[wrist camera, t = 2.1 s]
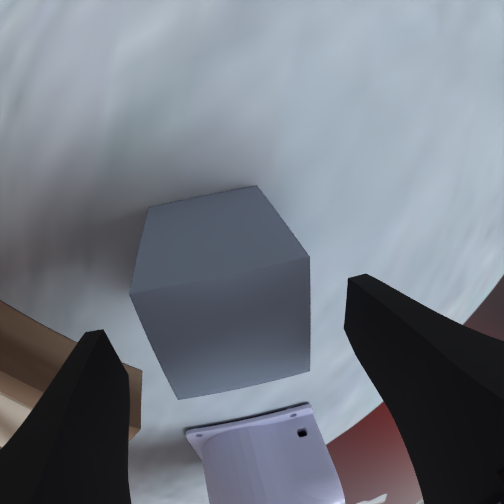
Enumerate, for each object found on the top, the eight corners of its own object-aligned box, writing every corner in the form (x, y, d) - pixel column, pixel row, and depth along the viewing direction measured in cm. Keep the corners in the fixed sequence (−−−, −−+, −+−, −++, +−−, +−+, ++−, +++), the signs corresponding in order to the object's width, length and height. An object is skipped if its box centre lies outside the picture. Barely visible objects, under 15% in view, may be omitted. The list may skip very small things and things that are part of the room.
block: (257, 185, 13) (309, 256, 8) (267, 276, 15) (310, 371, 10) (149, 207, 12) (129, 293, 7) (174, 295, 15) (177, 399, 10)
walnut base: (-39, 274, 11) (-75, 322, 8) (142, 371, 17) (140, 431, 13) (-41, 382, 15) (-56, 422, 11) (87, 444, 20) (83, 486, 16)
